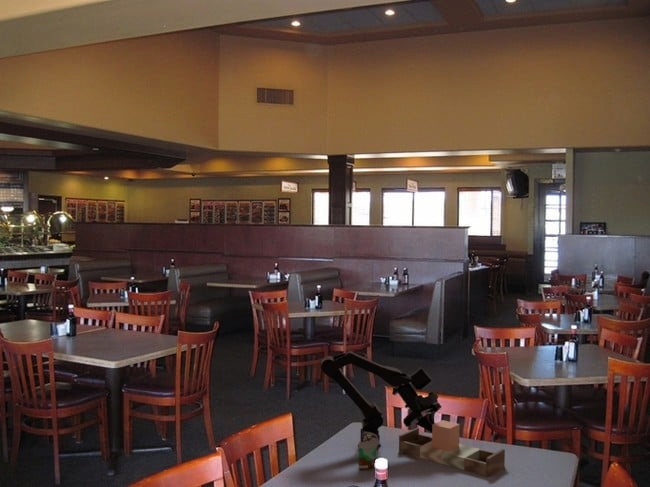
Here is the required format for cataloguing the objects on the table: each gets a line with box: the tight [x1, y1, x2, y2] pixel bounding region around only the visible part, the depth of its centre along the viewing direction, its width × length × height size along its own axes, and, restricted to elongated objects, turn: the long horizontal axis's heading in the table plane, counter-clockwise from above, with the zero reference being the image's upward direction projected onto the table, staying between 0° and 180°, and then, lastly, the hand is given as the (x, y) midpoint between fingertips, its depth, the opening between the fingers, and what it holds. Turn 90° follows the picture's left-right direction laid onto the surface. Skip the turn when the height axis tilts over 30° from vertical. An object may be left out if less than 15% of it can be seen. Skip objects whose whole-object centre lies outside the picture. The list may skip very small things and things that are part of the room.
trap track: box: [398, 427, 506, 478], centre depth 228 cm, size 36×12×6 cm, turn 50°
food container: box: [358, 432, 379, 471], centre depth 220 cm, size 12×6×10 cm, turn 168°
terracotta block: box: [431, 419, 461, 451], centre depth 229 cm, size 7×7×8 cm
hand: (436, 433), depth 231 cm, fingers closed, pressing on terracotta block
